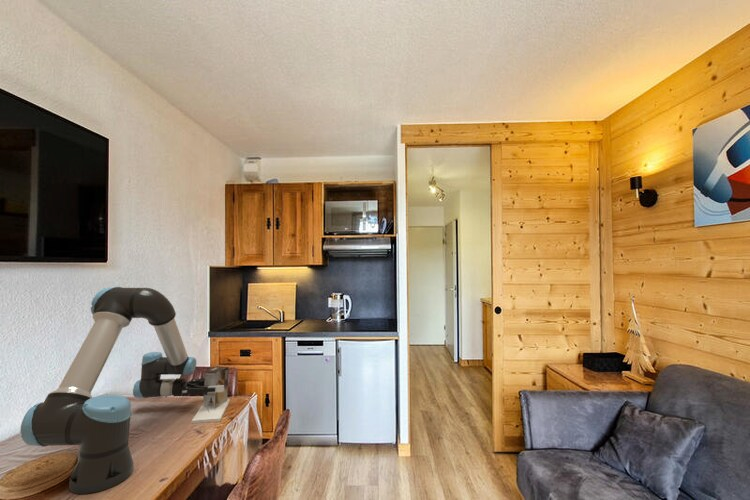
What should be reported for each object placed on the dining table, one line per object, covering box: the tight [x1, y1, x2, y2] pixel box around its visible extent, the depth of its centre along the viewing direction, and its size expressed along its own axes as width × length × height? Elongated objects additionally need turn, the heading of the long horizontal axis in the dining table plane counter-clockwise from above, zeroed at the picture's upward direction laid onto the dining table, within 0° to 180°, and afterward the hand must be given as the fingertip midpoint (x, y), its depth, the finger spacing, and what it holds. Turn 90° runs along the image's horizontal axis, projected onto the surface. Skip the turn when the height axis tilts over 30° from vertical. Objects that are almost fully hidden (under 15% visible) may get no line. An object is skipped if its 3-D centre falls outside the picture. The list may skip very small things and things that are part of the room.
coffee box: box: [202, 365, 230, 408], centre depth 156 cm, size 9×6×16 cm
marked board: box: [191, 398, 231, 424], centre depth 150 cm, size 22×11×1 cm, turn 14°
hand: (226, 384), depth 157 cm, fingers closed on coffee box, 10 cm apart
